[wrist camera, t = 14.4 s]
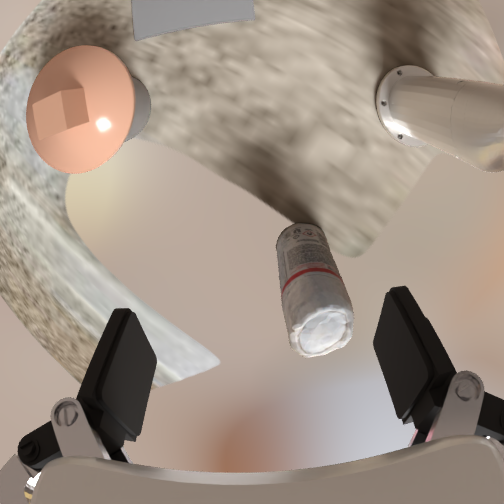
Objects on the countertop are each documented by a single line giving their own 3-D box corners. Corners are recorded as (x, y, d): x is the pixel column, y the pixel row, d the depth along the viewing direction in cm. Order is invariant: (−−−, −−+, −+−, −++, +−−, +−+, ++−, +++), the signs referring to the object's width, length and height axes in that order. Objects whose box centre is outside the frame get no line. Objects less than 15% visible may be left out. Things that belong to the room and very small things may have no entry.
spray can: (263, 251, 47) (270, 351, 30) (292, 210, 43) (319, 301, 26) (305, 272, 49) (329, 370, 32) (335, 236, 45) (378, 328, 28)
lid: (127, 27, 21) (104, 18, 16) (146, 156, 28) (127, 171, 24) (24, 74, 21) (-5, 78, 17) (45, 182, 29) (20, 199, 24)
